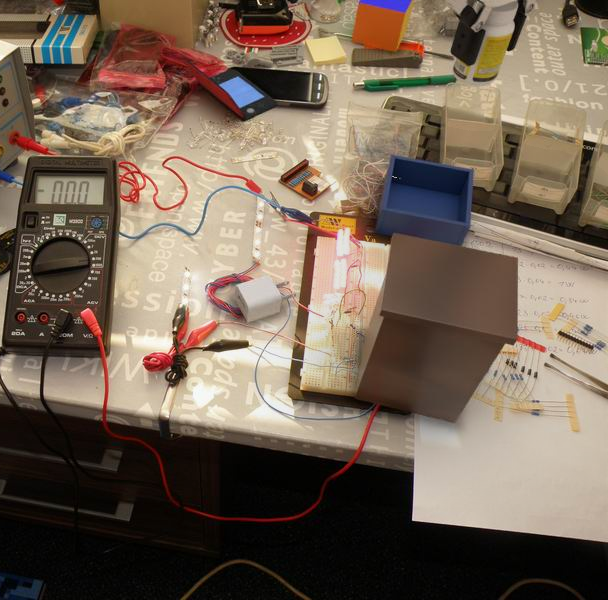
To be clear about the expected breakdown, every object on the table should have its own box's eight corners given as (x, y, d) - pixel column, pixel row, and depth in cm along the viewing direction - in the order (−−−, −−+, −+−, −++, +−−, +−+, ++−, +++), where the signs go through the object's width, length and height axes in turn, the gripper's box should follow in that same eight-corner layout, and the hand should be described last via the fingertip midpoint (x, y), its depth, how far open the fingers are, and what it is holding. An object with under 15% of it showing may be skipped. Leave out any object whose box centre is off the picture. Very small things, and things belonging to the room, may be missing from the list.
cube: (405, 33, 121) (416, -10, 115) (394, 56, 117) (405, 12, 110) (363, 23, 123) (371, -20, 117) (350, 45, 119) (358, 2, 112)
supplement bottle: (501, 71, 75) (529, -3, 68) (487, 92, 72) (515, 18, 66) (459, 58, 76) (482, -15, 70) (445, 79, 74) (467, 5, 67)
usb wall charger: (234, 302, 84) (235, 282, 81) (283, 286, 85) (286, 266, 82) (247, 326, 82) (248, 307, 78) (298, 309, 83) (301, 289, 80)
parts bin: (462, 197, 95) (474, 169, 91) (457, 254, 89) (470, 226, 84) (383, 182, 97) (391, 154, 93) (373, 237, 91) (381, 209, 86)
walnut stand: (462, 357, 79) (518, 257, 65) (457, 431, 73) (517, 339, 59) (360, 334, 81) (393, 232, 67) (348, 404, 75) (381, 309, 61)
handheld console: (279, 109, 108) (284, 68, 102) (226, 134, 104) (227, 94, 98) (232, 72, 114) (234, 32, 108) (180, 95, 110) (179, 54, 104)
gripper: (506, -105, 53) (444, 93, 67) (651, -145, 58) (565, 47, 72) (442, -136, 57) (397, 57, 71) (583, -171, 62) (514, 16, 76)
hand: (482, 50), depth 72 cm, fingers closed on supplement bottle, 4 cm apart
